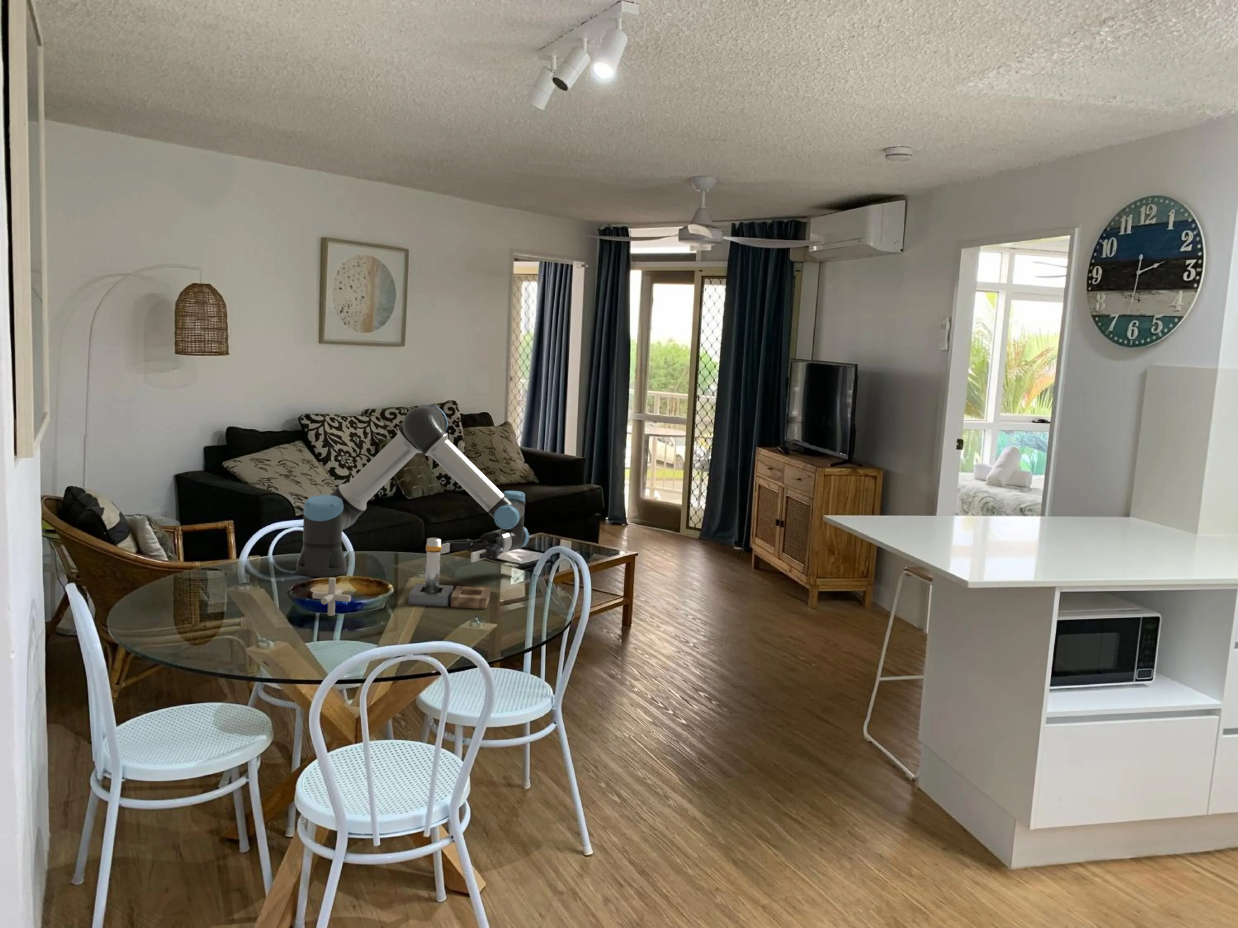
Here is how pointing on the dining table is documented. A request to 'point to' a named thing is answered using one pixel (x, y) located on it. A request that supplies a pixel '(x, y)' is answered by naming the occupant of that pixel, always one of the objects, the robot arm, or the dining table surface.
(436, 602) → the socket block
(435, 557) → the silver banded cylinder
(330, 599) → the pipe connector
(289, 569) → the dining table surface
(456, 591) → the block
